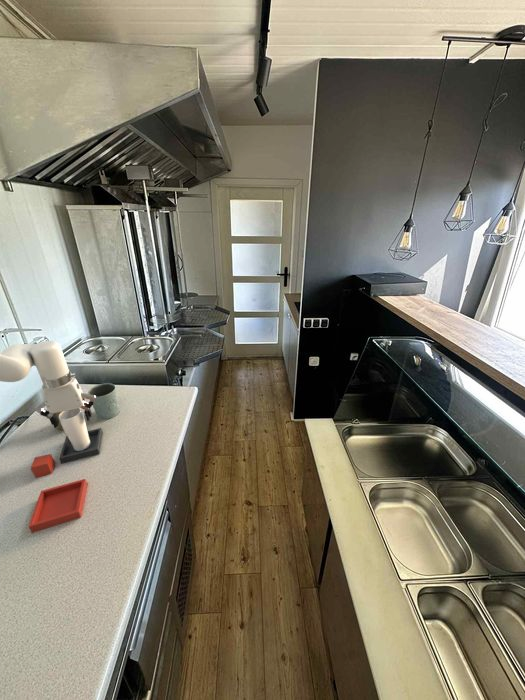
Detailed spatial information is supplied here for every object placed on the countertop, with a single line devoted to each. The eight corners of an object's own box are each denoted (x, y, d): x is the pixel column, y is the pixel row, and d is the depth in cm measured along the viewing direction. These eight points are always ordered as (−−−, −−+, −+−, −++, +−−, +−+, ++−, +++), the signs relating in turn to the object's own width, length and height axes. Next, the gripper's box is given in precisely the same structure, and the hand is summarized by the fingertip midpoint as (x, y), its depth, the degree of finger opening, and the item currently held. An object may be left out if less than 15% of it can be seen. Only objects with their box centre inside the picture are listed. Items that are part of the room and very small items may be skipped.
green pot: (98, 408, 124) (91, 384, 119) (124, 404, 126) (117, 381, 121) (93, 423, 115) (84, 398, 110) (120, 418, 117) (113, 394, 112)
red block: (35, 477, 92) (30, 467, 90) (39, 467, 95) (34, 457, 93) (51, 473, 93) (47, 463, 91) (55, 463, 97) (50, 453, 95)
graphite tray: (61, 463, 97) (58, 458, 95) (68, 440, 106) (66, 435, 105) (99, 454, 100) (97, 448, 99) (103, 432, 110) (101, 427, 109)
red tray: (31, 533, 76) (28, 527, 75) (43, 496, 85) (41, 490, 84) (81, 517, 79) (78, 511, 78) (87, 484, 89) (85, 478, 88)
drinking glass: (70, 445, 103) (56, 412, 97) (91, 436, 107) (79, 404, 101) (73, 456, 99) (59, 422, 92) (95, 447, 103) (83, 413, 96)
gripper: (89, 368, 97) (102, 409, 104) (28, 378, 91) (46, 421, 98) (86, 379, 90) (100, 422, 98) (20, 391, 85) (40, 435, 92)
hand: (73, 421), depth 98 cm, fingers open, 9 cm apart
